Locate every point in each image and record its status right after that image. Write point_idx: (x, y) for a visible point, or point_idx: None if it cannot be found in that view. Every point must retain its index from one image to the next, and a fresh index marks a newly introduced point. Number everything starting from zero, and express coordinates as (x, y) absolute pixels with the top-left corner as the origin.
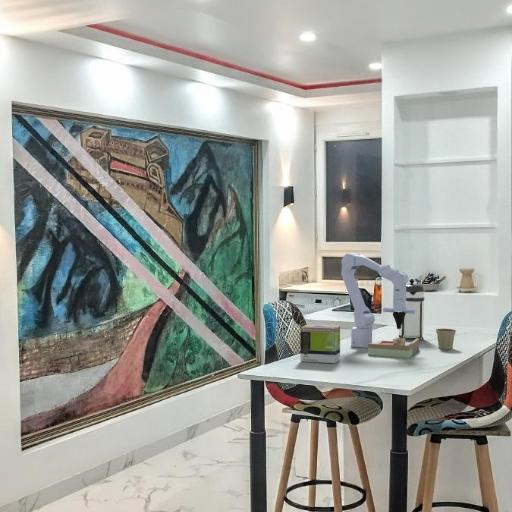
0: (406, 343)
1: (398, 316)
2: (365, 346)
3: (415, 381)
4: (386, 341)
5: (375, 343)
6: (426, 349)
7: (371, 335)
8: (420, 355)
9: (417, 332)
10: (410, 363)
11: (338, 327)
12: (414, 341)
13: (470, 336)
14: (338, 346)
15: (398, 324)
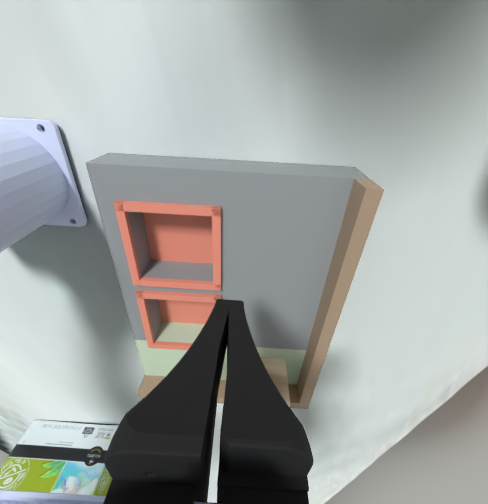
0: (283, 230)
1: (210, 445)
2: (53, 219)
3: (313, 500)
4: (149, 211)
5: (120, 284)
6: (408, 145)
7: (18, 214)
8: (345, 321)
9: None
10: (305, 419)
11: None
12: (336, 312)
13: None
14: (110, 481)
15: (223, 354)
